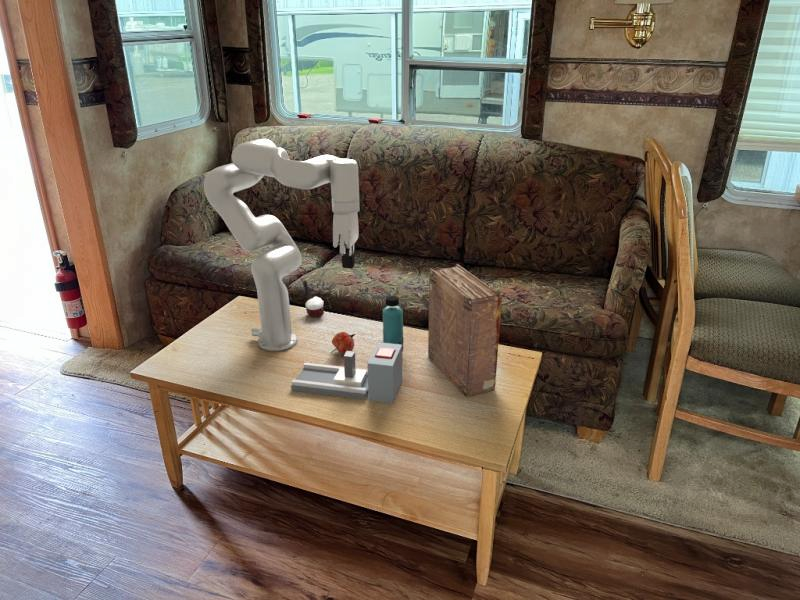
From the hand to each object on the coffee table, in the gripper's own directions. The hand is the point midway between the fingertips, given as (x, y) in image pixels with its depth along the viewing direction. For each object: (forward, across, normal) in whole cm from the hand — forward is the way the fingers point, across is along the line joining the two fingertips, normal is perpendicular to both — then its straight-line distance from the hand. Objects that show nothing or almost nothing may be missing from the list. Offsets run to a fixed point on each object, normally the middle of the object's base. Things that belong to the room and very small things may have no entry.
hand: (348, 267), depth 178 cm
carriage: (+30, +12, +3) cm, 33 cm away
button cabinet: (+32, +12, +14) cm, 37 cm away
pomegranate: (+32, -6, -5) cm, 33 cm away
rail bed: (+32, +12, -2) cm, 34 cm away
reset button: (+24, +12, +14) cm, 30 cm away
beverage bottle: (+32, -8, +11) cm, 35 cm away
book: (+32, -2, +33) cm, 46 cm away
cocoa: (+32, -30, -23) cm, 50 cm away
